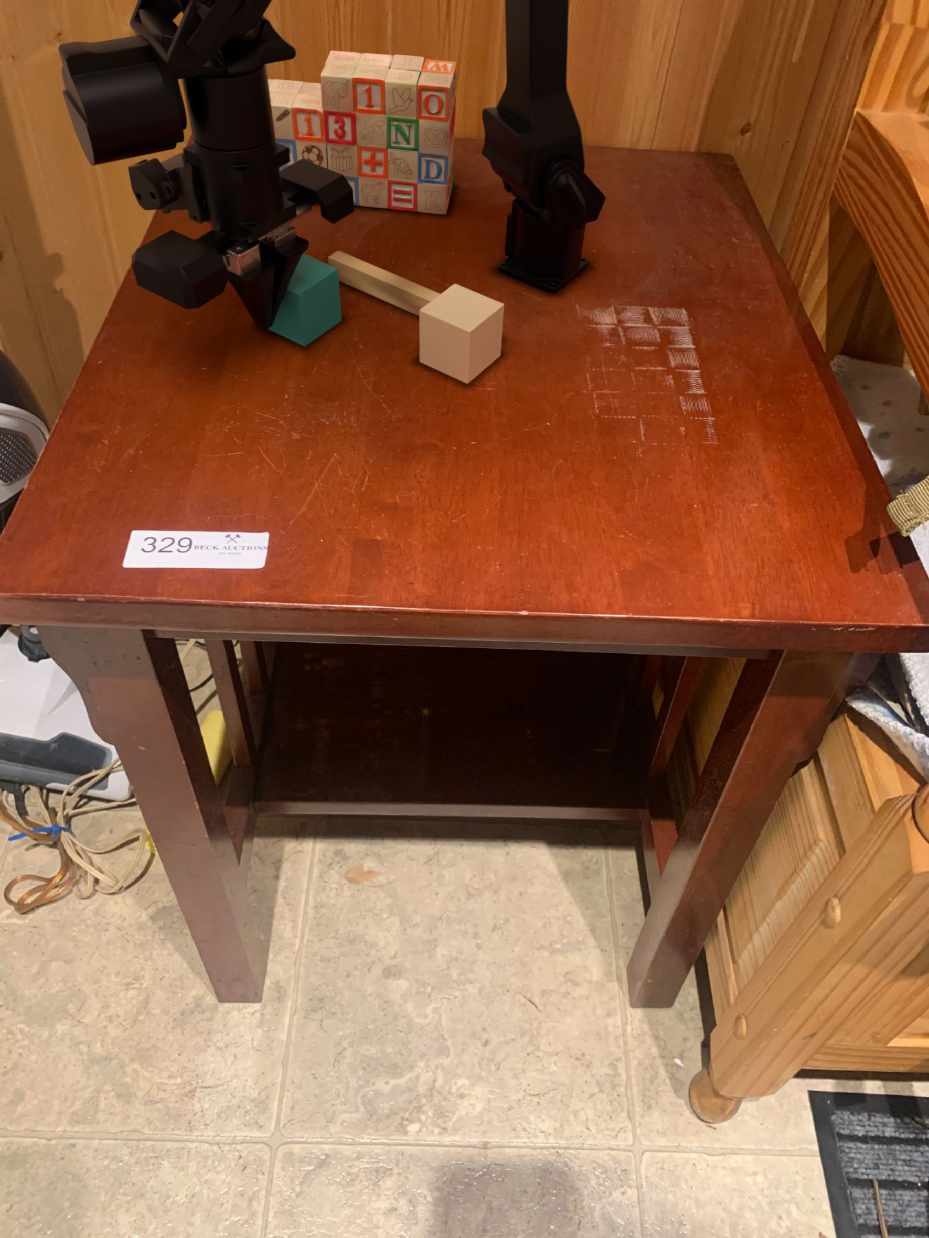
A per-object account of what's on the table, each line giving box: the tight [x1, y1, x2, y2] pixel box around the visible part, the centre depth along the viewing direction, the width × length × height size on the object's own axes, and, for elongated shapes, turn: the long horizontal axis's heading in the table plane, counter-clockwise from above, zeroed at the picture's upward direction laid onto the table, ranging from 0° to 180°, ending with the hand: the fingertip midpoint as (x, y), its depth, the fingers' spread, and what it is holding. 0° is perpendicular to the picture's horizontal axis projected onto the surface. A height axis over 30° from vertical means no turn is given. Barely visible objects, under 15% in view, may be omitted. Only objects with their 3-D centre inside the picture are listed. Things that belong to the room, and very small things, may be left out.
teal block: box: [267, 253, 343, 347], centre depth 79 cm, size 5×5×5 cm
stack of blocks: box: [268, 50, 457, 215], centre depth 91 cm, size 21×6×12 cm, turn 84°
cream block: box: [418, 283, 505, 384], centre depth 76 cm, size 5×5×5 cm
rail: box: [327, 250, 441, 317], centre depth 82 cm, size 18×2×2 cm, turn 55°
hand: (264, 326), depth 77 cm, fingers closed
